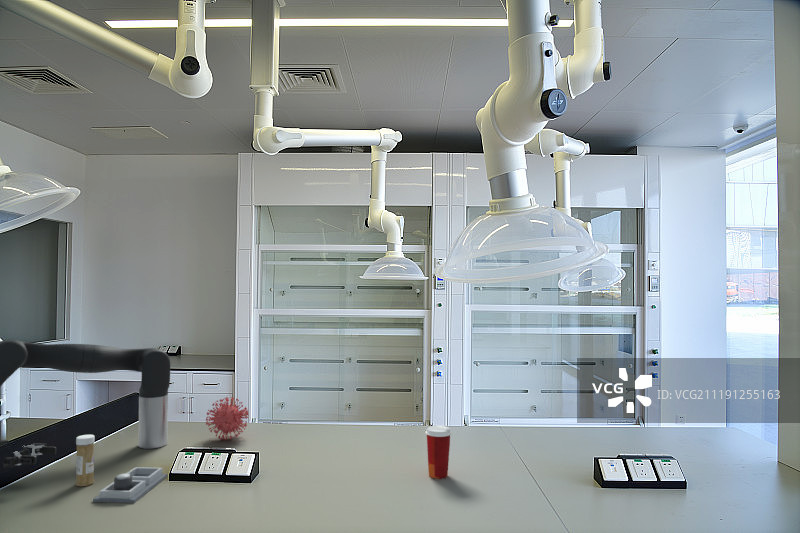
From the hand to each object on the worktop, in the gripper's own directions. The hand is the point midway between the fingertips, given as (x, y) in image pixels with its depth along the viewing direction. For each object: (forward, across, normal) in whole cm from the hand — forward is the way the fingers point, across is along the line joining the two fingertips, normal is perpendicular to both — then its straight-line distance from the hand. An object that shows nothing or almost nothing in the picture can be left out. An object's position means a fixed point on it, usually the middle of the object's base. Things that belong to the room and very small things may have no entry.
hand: (46, 455), depth 162 cm
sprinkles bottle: (+11, 0, +8) cm, 14 cm away
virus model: (+36, +46, +8) cm, 59 cm away
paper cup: (+111, +13, +7) cm, 112 cm away
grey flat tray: (+26, -2, +8) cm, 28 cm away
